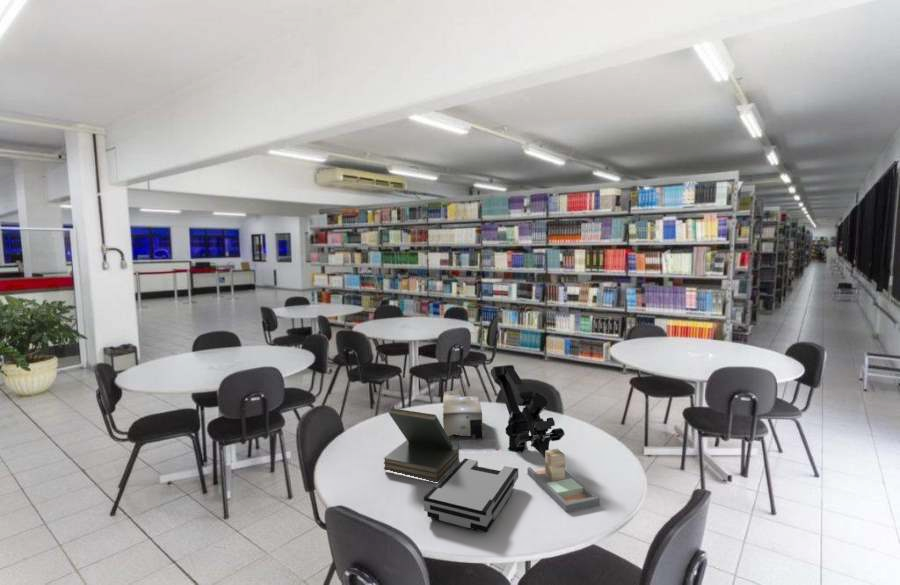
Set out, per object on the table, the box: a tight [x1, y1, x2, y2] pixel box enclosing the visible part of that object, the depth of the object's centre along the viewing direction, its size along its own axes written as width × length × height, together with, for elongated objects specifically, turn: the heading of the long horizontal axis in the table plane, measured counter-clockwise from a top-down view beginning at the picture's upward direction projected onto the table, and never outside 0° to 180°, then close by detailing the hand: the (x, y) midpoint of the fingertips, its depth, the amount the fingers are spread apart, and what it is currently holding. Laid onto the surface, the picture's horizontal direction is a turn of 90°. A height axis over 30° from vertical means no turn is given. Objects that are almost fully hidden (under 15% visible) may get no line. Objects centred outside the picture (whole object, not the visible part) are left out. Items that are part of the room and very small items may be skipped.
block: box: [544, 448, 566, 481], centre depth 167 cm, size 5×5×9 cm
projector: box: [442, 389, 484, 440], centre depth 222 cm, size 18×33×13 cm, turn 0°
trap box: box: [526, 466, 600, 513], centre depth 164 cm, size 27×12×2 cm, turn 17°
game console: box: [423, 458, 519, 533], centre depth 155 cm, size 21×32×8 cm, turn 155°
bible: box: [383, 407, 460, 482], centre depth 181 cm, size 23×20×25 cm
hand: (547, 459), depth 172 cm, fingers closed
